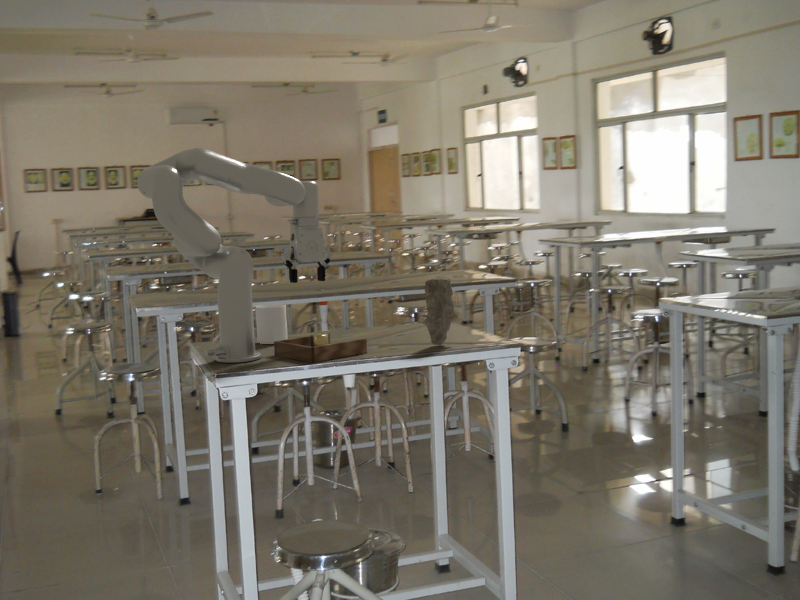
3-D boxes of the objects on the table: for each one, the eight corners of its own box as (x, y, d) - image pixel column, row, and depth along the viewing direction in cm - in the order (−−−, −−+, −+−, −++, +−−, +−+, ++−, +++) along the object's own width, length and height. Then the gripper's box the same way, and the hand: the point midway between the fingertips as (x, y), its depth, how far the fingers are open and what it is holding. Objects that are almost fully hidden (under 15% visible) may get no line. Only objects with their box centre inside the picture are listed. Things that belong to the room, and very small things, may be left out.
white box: (259, 346, 251) (257, 308, 249) (254, 340, 262) (252, 304, 261) (290, 343, 254) (288, 306, 252) (283, 338, 265) (281, 302, 264)
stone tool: (427, 348, 233) (425, 279, 231) (418, 346, 238) (415, 278, 236) (463, 344, 239) (461, 276, 237) (453, 341, 244) (451, 275, 242)
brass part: (320, 357, 226) (319, 336, 225) (311, 356, 229) (310, 335, 228) (331, 355, 229) (330, 334, 228) (323, 354, 232) (322, 333, 231)
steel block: (319, 353, 233) (318, 336, 233) (311, 352, 236) (310, 335, 236) (330, 351, 236) (329, 334, 235) (322, 350, 239) (321, 333, 238)
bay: (312, 362, 219) (311, 347, 218) (274, 355, 233) (274, 341, 232) (367, 352, 231) (366, 338, 231) (328, 346, 245) (327, 332, 245)
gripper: (287, 223, 231) (289, 284, 232) (337, 223, 242) (339, 280, 243) (274, 224, 236) (275, 282, 238) (323, 223, 247) (324, 279, 249)
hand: (307, 281), depth 241 cm, fingers open, 9 cm apart
